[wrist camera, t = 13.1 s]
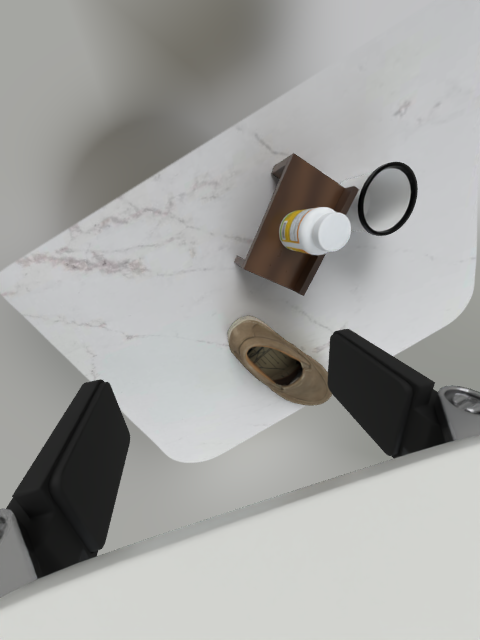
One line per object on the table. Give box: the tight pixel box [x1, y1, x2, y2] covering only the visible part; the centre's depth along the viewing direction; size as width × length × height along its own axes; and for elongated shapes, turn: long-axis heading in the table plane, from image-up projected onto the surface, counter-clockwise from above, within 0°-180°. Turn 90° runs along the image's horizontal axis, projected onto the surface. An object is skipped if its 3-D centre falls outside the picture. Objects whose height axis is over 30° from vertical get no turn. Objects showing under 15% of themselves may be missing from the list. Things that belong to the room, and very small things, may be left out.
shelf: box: [234, 153, 359, 296], centre depth 36 cm, size 10×16×9 cm, turn 156°
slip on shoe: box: [227, 316, 332, 405], centre depth 46 cm, size 30×11×9 cm, turn 43°
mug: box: [340, 162, 418, 236], centre depth 37 cm, size 12×10×9 cm
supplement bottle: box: [279, 207, 351, 255], centre depth 29 cm, size 5×5×10 cm
